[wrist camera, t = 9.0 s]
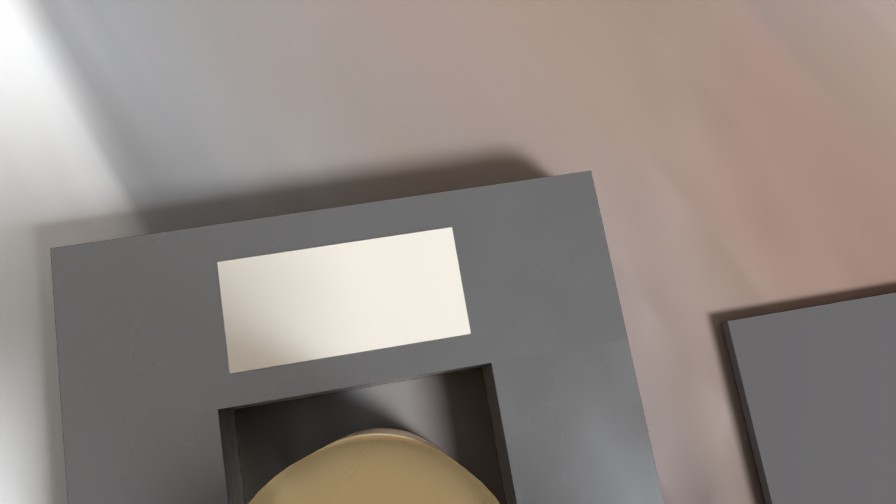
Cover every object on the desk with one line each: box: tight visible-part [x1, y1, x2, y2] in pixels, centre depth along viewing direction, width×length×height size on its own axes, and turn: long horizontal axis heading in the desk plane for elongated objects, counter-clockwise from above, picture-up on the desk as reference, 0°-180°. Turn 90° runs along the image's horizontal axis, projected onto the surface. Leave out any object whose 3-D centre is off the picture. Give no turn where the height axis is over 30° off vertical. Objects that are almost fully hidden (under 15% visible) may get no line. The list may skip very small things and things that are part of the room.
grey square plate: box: [722, 293, 896, 504], centre depth 21 cm, size 7×7×1 cm
